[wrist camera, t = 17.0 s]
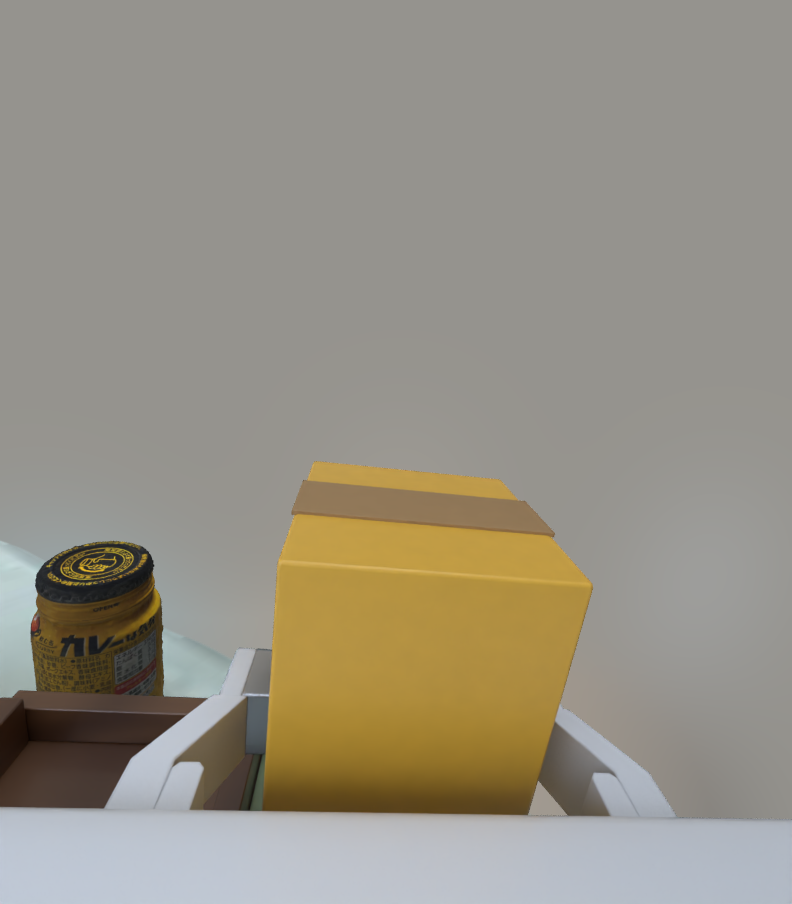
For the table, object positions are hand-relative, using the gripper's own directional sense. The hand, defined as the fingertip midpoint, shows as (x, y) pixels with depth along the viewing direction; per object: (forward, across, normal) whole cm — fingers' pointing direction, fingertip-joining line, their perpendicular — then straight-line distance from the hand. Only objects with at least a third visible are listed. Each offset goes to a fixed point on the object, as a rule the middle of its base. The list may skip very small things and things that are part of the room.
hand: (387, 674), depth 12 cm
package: (-1, 0, +6) cm, 7 cm away
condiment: (+11, +14, +17) cm, 25 cm away
